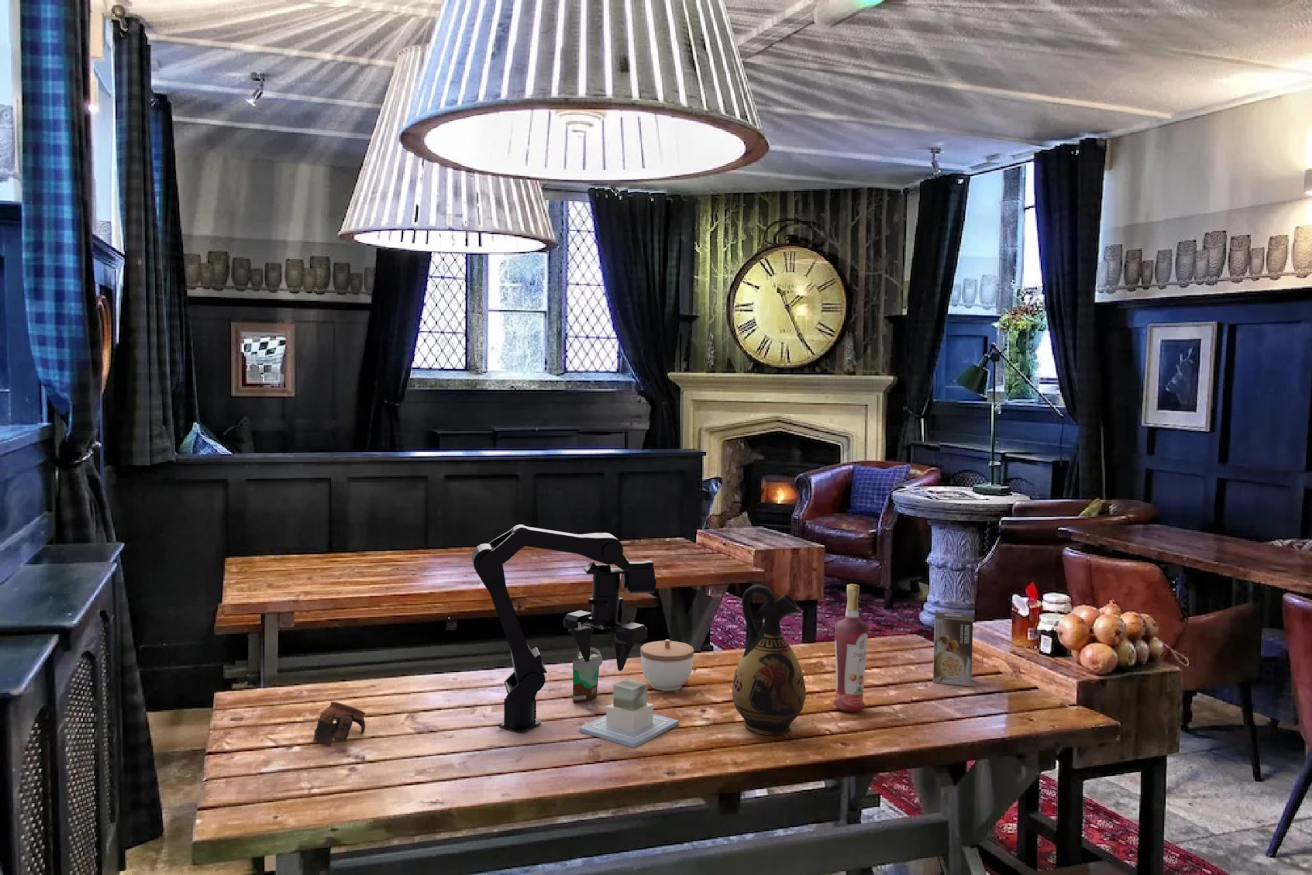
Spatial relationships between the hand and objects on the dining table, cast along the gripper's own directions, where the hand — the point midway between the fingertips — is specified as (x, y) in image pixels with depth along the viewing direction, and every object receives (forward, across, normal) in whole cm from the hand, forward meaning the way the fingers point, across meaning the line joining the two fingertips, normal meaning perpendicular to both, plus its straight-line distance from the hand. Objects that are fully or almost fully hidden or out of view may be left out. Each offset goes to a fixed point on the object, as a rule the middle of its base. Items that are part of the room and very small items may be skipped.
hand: (603, 665), depth 211 cm
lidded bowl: (+12, +2, -27) cm, 29 cm away
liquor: (+11, -38, -40) cm, 56 cm away
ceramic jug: (+11, -29, -19) cm, 36 cm away
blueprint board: (+12, -8, 0) cm, 14 cm away
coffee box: (+10, -49, -74) cm, 90 cm away
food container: (+12, +12, -9) cm, 19 cm away
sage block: (+7, -7, 0) cm, 10 cm away
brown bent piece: (+13, +34, +41) cm, 55 cm away
